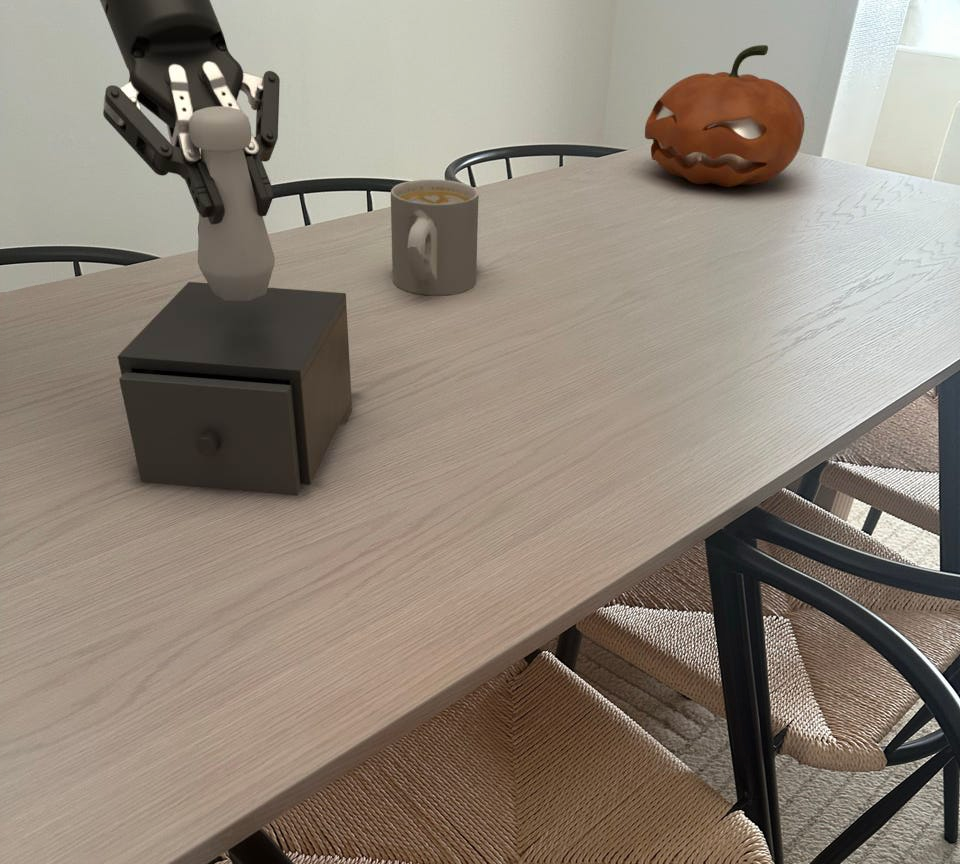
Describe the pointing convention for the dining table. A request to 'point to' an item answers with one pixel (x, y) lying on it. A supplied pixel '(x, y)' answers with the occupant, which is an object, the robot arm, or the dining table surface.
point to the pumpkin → (726, 127)
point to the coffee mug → (434, 236)
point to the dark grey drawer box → (260, 352)
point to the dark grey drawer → (213, 431)
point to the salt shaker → (231, 209)
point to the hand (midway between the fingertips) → (240, 213)
